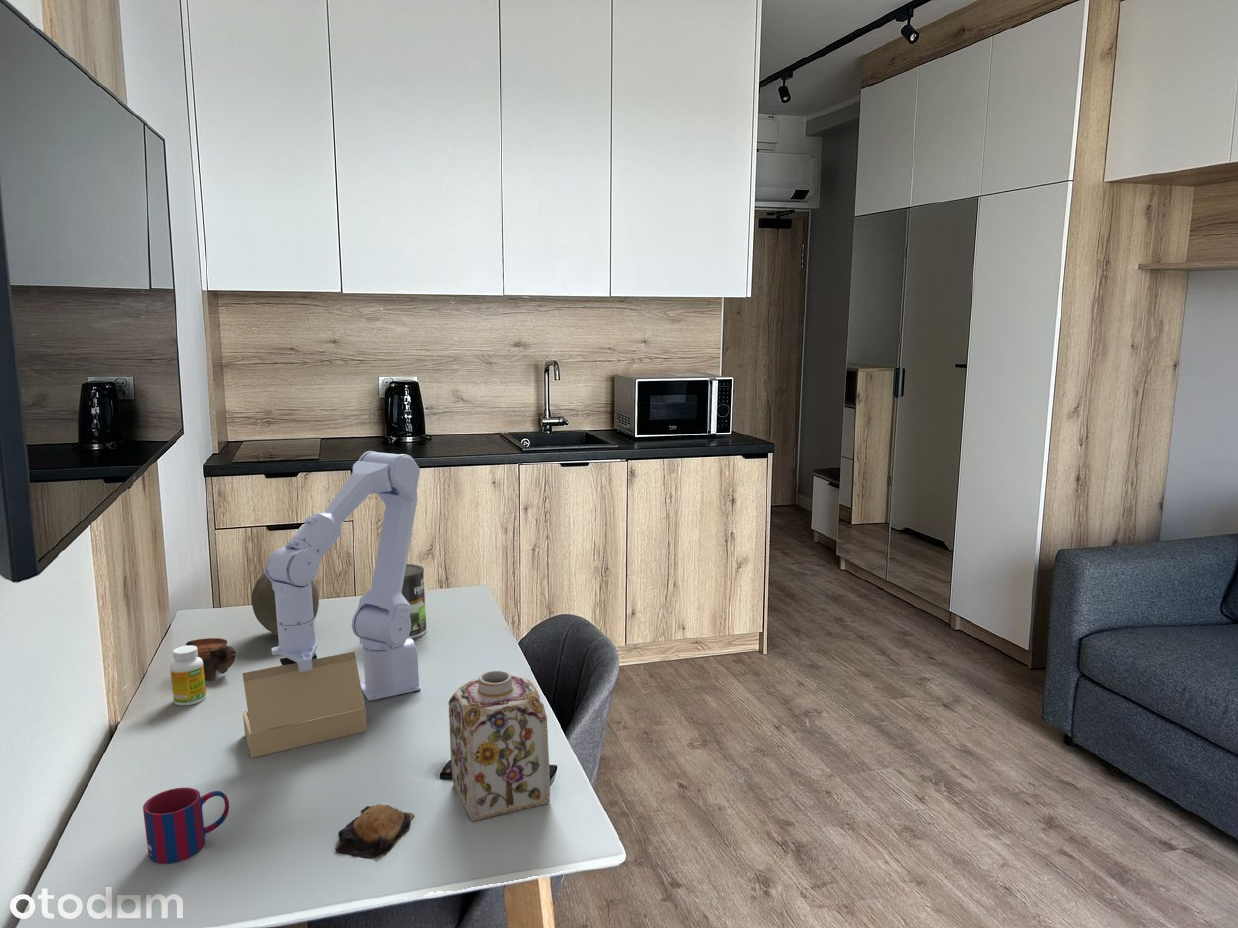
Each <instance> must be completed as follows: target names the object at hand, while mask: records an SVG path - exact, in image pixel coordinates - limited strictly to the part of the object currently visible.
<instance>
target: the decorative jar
mask: <svg viewBox="0 0 1238 928" xmlns="http://www.w3.org/2000/svg"><path fill="white" fill-rule="evenodd" d="M448 720H449V744H450V746H449V748H450V762H451V776H452V784H453V786H454V788H455V790H456V793H457V794H458V797H459V799H460V800H461V803H462V804H463V806H464V809H465V810H466V812H467V814H468V817H469V818H470V820H471V821H472V822H478V821H481V820H486V819H488V818H493V817H496V816H501V815H504V814H510V813H514V812H518V811H522V810H526V809H530V808H534V807H538V806H542V805H549V803H550V802H551V789H550V788H551V784H550V783H551V781H550V779H551V778H550V776H551V775H550V754H549V734H548V732H549V731H548V717H547V713H546V709H545V706H544V704H543V702H542V701H541V696H540V694H539V691H538V690H537V688H536V687H535V685H534V684H533V682H531V680H529V679H528V678H524V677H523V678H522V677H518V676H515V675H512V674H511V673H510V672H507V671H503V670H491V671H486V672H484V673H481V674H480V675H479V676H478V678H475V679H471V680H469V681H468V682H466V683H465V684H463V685H461V686H460V687H458V689H457V690H456V691H454V693H453V694H452V695H451V697H450V698H449V700H448Z"/></svg>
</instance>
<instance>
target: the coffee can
mask: <svg viewBox="0 0 1238 928" xmlns="http://www.w3.org/2000/svg"><path fill="white" fill-rule="evenodd" d="M424 570H425V569H424V567H423V566H421V565H418V564H411V563H410V564H409V563H406V569H405V575H404V581H403V587H402V595H403V596H404V598H405V599H406V600H407V602H408V603H409V604H410V606H411V609H410V620H411V631H410V634H409V636H408V638H411V639H413V640H414V639H418V638H420V637H421V636H424V635H425V634H426V633H427V632H428V628H427V615H426V614H427V613H426V598H425V597H426V595H425V593H426V592H425V581H424V580H425V579H424V575H425V574H424V572H425V571H424ZM380 608H384V609H387V608H385V607H381V606H380Z"/></svg>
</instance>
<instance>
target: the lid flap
mask: <svg viewBox="0 0 1238 928" xmlns="http://www.w3.org/2000/svg"><path fill="white" fill-rule="evenodd" d="M242 680H243V687H244V693H245V700H246V709H247V711H248V716H249V723H250V730H251V733H254V732H259V731H263V730H268V729H272V728H277V727H281V726H286V725H290V724H295V723H299V722H304V721H308V720H313V719H317V718H322V717H326V716H330V715H335V714H339V713H344V712H348V711H353V710H357V709H362V708H365V709H366V707H365V702H364V696H363V691H362V689H361V684H360V683H361V679H360V674H359V669H358V663H357V657H356V651H350V652H344V653H339V654H334V655H329V656H325V657H319V658H318V657H317V659H313V660H312V670H308V671H303V672H299V669H298V663H295V664H289V665H282V664H281V665H277V666H273V667H272V666H270V667H267V668H261V669H257V670H253V671H252V670H251V671H247V672H243V673H242Z"/></svg>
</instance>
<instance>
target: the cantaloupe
mask: <svg viewBox="0 0 1238 928" xmlns="http://www.w3.org/2000/svg"><path fill="white" fill-rule="evenodd" d="M311 586H312V600H313V614H314V620H315V619H316V617H317V615H318V612H319V607H320V606H319V605H320V600H319V599H320V597H319V591H318V588H317V585H316V583H315V582H314V580H312V581H311ZM251 605H252V611H253V614H254V615H255V617H256V620H257V621H258V623H260V624H261V625H262V627H263V628H265V629H266V630H267V631H269V632H270V633H273V634H275V635H277V636H278V628H277V615H276V602H275V591H274V590H273V588H272V582H271V580H270V579H269V578H268V577H267V576H266V574H265V572H264V573H263V574H262V575H260V577H259V578H258V579H257V581H256V583H255V585H254V587H253V589H252V592H251Z"/></svg>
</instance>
